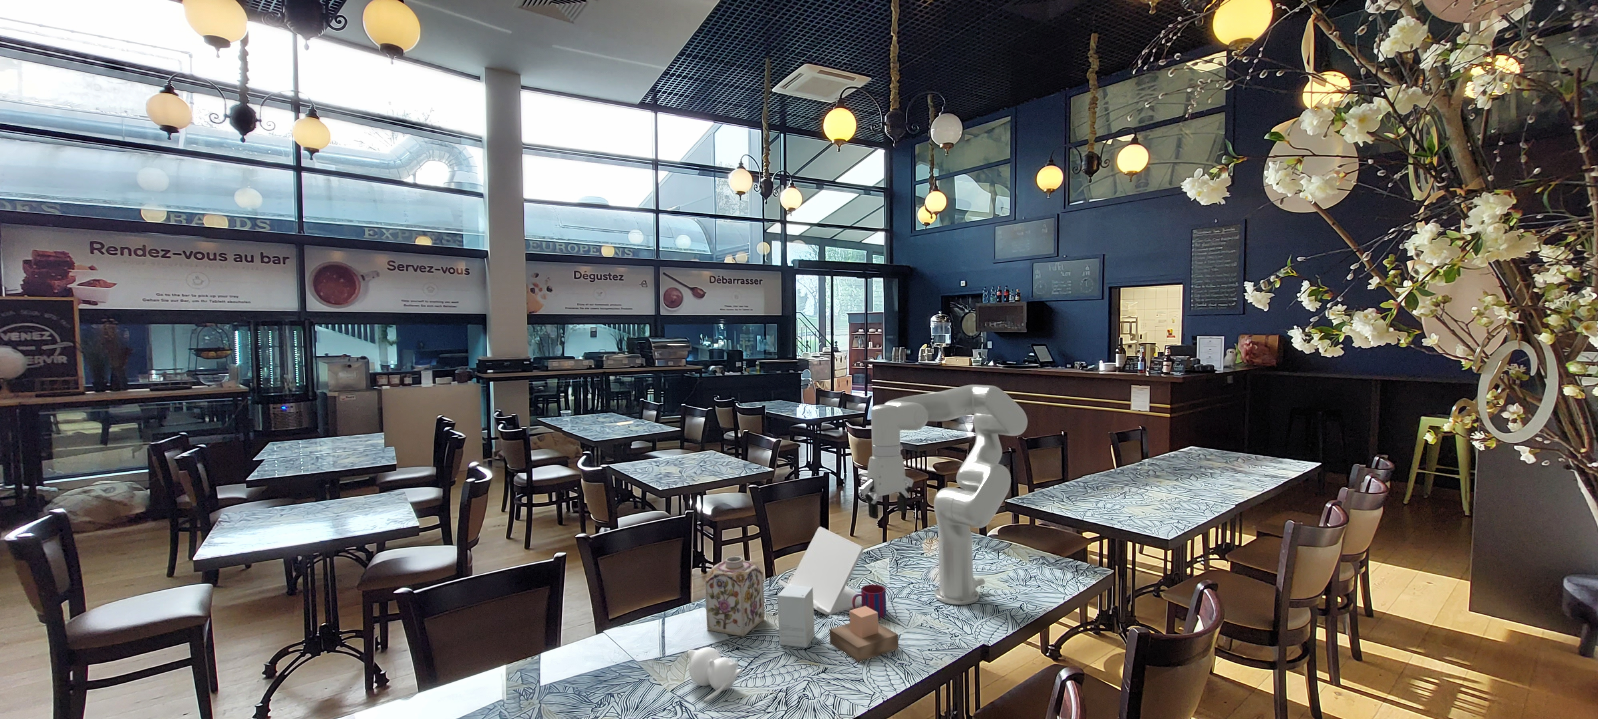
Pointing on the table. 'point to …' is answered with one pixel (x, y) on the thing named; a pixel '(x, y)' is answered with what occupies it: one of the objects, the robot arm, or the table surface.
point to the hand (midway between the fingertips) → (888, 514)
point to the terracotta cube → (863, 621)
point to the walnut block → (863, 642)
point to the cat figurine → (712, 670)
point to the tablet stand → (828, 571)
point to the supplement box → (796, 616)
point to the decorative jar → (734, 597)
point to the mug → (873, 598)
